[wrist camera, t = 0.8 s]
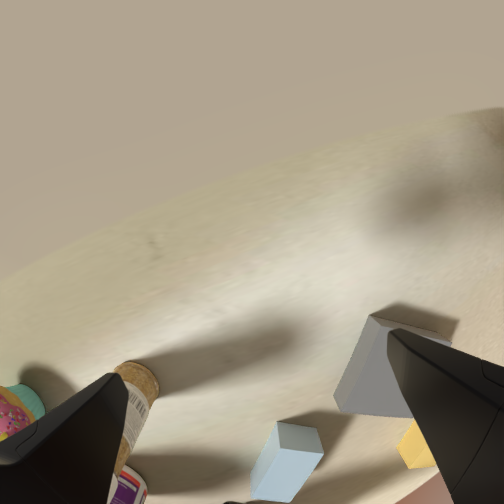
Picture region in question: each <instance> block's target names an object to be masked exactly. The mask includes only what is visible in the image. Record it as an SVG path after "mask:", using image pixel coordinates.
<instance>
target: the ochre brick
mask: <svg viewBox="0 0 504 504" xmlns="http://www.w3.org/2000/svg"><path fill="white" fill-rule="evenodd" d="M396 448H397V450H398V451H399V453H400V455H401V456H402V458H403V460H404V461H405V463H406V465H407V467H408V468H409V469H411V468H423V467H432V466H435V465H436V462H435V460H434V457H433V455H432V453H431V451H430V449H429V447H428V445H427V443H426V441H425V439H424V437H423V435H422V433H421V431H420V429H419V427H418V425H417V423H416V421H415V420H414V422H413V423H412V425H411V426H410V428H409V429H408V431H407V432H406V434H405V436H404V437H403V439H402V440H401V441H400V443H399V444H398V446H397V447H396Z"/></svg>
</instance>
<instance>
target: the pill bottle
mask: <svg viewBox="0 0 504 504" xmlns="http://www.w3.org/2000/svg"><path fill="white" fill-rule="evenodd" d="M146 496H147V486H146V484H145V482H144V480H143V479H142V478H141V477H140V475H139V474H137V473H136V472H135V471H134V470H132V469H131V468H129V467H128V466H126V465H124V467H123V469H122V471H121V474H120V475H119V477H118V487H117V489H116V492H115V494H114V496H113V498H112V500H111V502H110V504H144V502H145V499H146Z"/></svg>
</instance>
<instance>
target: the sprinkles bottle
mask: <svg viewBox="0 0 504 504" xmlns="http://www.w3.org/2000/svg"><path fill="white" fill-rule="evenodd" d="M114 372H117V373H119V374H120V376H121V377H122V379H123V381H124V383H125V385H126V387H127V389H128V392H129V399H128V405H127V412H126V419H125V426H124V431H123V436H122V440H121V444H120V448H119V452H118V456H117V460H116V464H115V468H114V473H113V477H112V482H111V486H110V491H109V496H108V501H107V504H110V502H111V500H112V498H113V496H114V494H115V492H116V489H117V487H118V477H119V475H120V474H121V471H122V469H123V467H124V465H125V462H126V460H127V458H128V457H129V456H130V454H131V452H132V449H133V447H134V445H135V443H136V441H137V438H138V436H139V434H140V432H141V430H142V428H143V425H144V423H145V421H146V419H147V417H148V414H149V410H150V408H151V406H152V404H153V402H154V401H155V399H156V398H157V396H158V394H159V384H158V382H157V379H156V378H155V377H154V375H153V374H152V372H150V371H149V370H148V369H147V368H146V367H144V366H142V365H140V364H137V363H133V362H125V363H122V364H121V365H119V366H117V367H116V368H115V369H114V371H113V373H114Z"/></svg>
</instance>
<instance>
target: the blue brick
mask: <svg viewBox="0 0 504 504" xmlns="http://www.w3.org/2000/svg"><path fill="white" fill-rule="evenodd" d="M323 455H324V451H323V448H322V445H321V442H320V438H319V435H318V432H317V428H313V427H307V426H300V425H294V424H289V423H283V422H278V421H277V422H276V424H275V426H274V428H273V430H272V432H271V434H270V436H269V438H268V440H267V442H266V444H265V446H264V448H263V450H262V452H261V454H260V455H259V457H258V459H257V461H256V463H255V465H254V467H253V469H252V470H251V472H250V482H251V498H253V499H260V500H268V501H276V502H287V503H290V502H291V500H292V499H293V498H294V496H295V495H296V494H297V492H298V491H299V490H300V488H301V487H302V485H303V484H304V483H305V481H306V480H307V478H308V477H309V476H310V474H311V473H312V471H313V470H314V468H315V467H316V465H317V464H318V462H319V461H320V459H321V458H322V456H323Z"/></svg>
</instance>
